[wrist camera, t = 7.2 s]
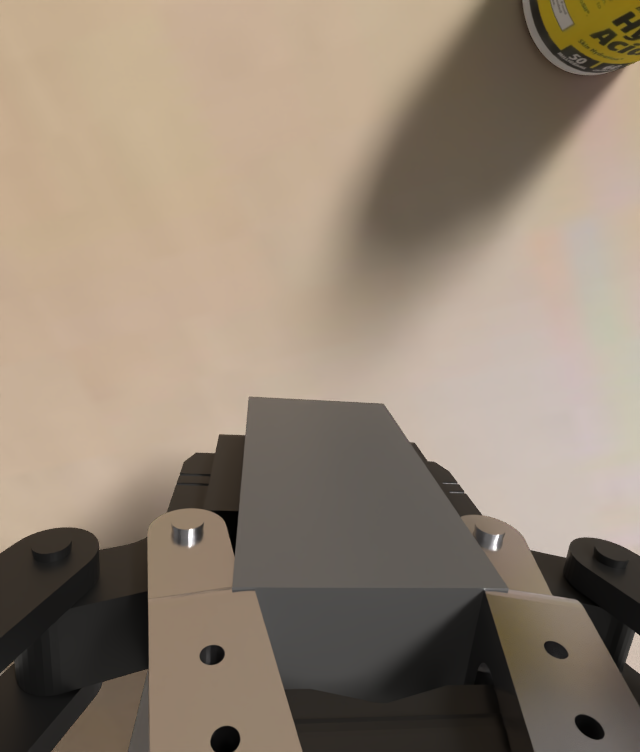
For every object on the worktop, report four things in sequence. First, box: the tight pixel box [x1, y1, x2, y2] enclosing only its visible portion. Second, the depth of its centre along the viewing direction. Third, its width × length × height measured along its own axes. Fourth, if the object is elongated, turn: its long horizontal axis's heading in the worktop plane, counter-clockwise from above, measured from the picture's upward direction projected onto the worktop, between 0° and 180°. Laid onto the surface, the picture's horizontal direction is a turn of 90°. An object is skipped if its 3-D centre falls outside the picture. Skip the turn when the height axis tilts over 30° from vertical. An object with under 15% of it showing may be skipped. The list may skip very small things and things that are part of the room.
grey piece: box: [232, 397, 509, 703], centre depth 11 cm, size 6×12×7 cm, turn 175°
